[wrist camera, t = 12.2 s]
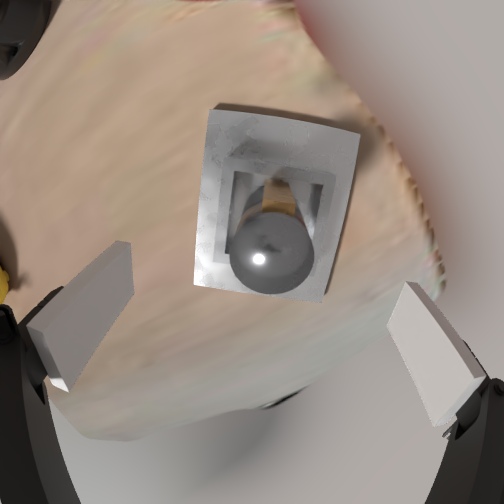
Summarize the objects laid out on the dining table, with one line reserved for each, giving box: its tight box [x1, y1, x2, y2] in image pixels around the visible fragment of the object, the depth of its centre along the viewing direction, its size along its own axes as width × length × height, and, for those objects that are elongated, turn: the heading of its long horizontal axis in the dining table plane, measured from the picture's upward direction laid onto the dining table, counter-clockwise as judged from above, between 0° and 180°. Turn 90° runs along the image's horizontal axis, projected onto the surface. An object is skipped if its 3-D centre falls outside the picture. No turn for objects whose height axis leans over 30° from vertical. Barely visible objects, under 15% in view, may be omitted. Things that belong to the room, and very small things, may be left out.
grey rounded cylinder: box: [229, 179, 314, 294], centre depth 21 cm, size 5×6×10 cm
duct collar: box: [194, 109, 361, 303], centre depth 26 cm, size 18×14×4 cm
